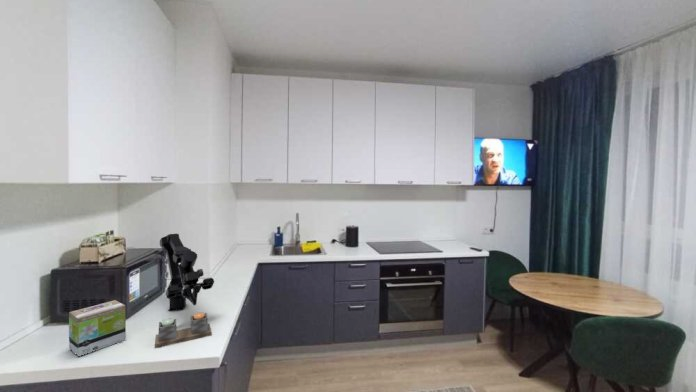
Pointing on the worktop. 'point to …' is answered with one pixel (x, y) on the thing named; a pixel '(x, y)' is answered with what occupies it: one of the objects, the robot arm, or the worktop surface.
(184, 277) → the robot arm
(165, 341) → the button board
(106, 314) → the tea box
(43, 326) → the worktop surface
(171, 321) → the sage button
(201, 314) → the terracotta button
